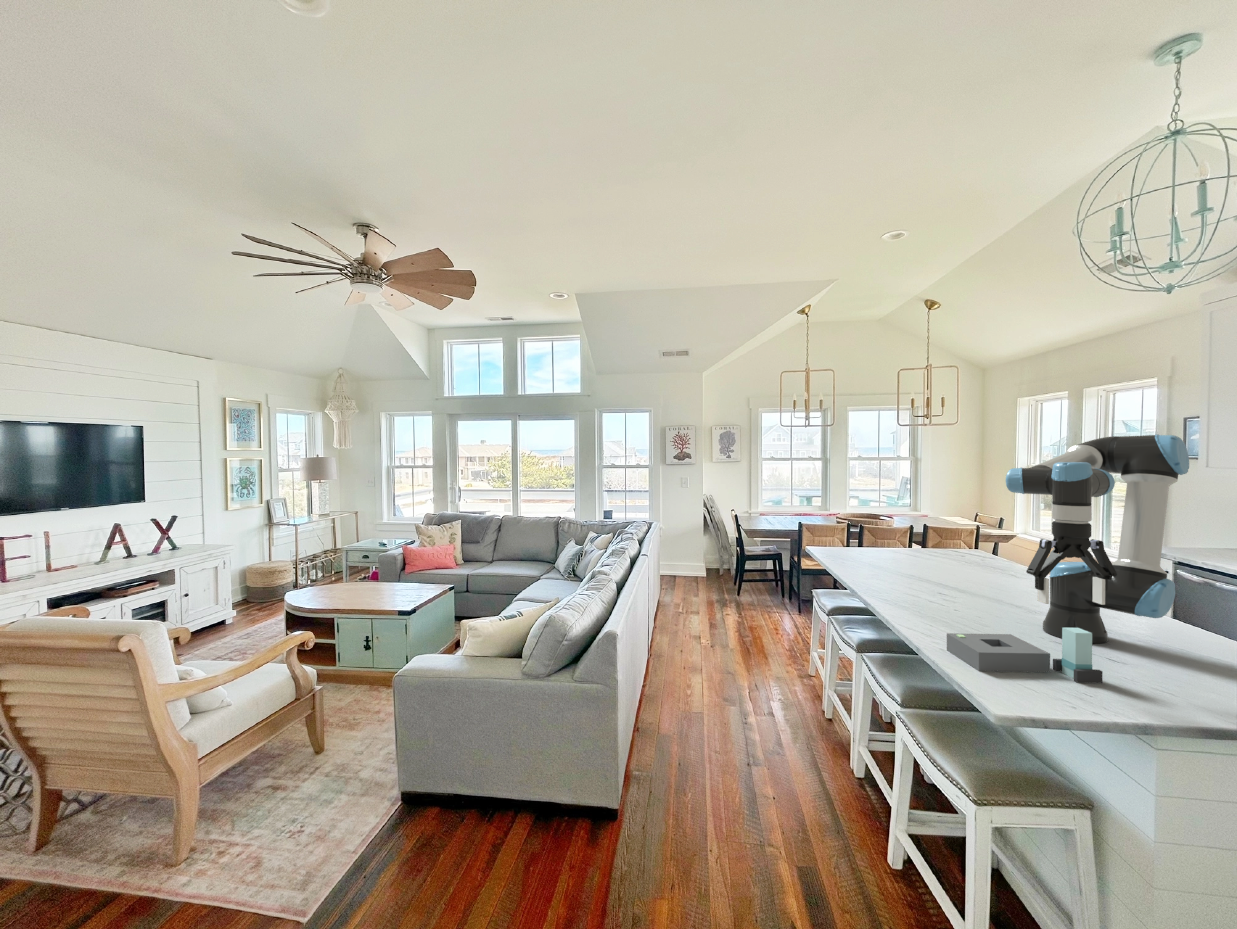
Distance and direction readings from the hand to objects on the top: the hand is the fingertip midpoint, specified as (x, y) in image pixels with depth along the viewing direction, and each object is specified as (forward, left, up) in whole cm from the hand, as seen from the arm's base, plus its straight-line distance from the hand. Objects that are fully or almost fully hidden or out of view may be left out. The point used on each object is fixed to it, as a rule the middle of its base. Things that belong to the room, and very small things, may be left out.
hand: (1070, 602), depth 126 cm
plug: (-1, +1, -19) cm, 19 cm away
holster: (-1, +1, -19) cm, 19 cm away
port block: (+13, -8, -19) cm, 24 cm away
